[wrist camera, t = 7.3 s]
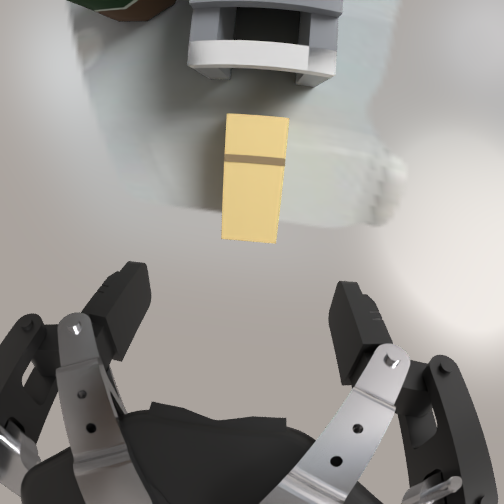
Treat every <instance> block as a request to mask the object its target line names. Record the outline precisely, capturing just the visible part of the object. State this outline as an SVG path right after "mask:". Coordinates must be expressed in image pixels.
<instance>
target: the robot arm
mask: <svg viewBox="0 0 504 504" xmlns="http://www.w3.org/2000/svg"><path fill="white" fill-rule="evenodd" d="M150 302H151V289H150V283H149V276H148V270H147V266H146V264H145V263H140V262H131V261H129V262H127V263H126V265H125V266H124V267H123V268H122V270H121V271H120V272H118V271H117V272H115V273H114V274H112V275H111V276H109V277H108V278H107V279H106V280H105V281H104V283H103V284H102V286H101V287H100V288H99V289H98V290H97V292H96V293H95V294H94V296H93V297H92V298H91V300H90V301H89V302H88V303H87V305H86V306H85V308H84V309H83V310H82V312H81V313H72V314H69V315H67V316H66V317H64V318H63V319H62V320H61V321H60V322H59V324H56V325H44V323H43V321H42V319H41V317H40V316H39V315H37V314H27V315H24V316H23V317H21V318H20V319H19V320H18V321H17V322H16V323H15V325H14V326H13V327H12V329H11V330H10V332H9V333H8V335H7V336H6V337H5V339H4V340H3V341H2V343H1V344H0V483H1V484H3V485H4V486H5V487H7V488H8V489H10V490H11V491H12V492H14V493H15V494H17V495H18V496H20V497H21V501H22V504H383V503H382V502H381V501H379V500H378V499H377V498H376V497H375V496H374V495H372V494H371V493H370V492H369V491H368V490H367V489H366V488H365V487H364V486H363V485H361V484H360V483H359V482H358V479H359V478H360V476H361V474H362V473H363V471H364V470H365V468H366V466H367V465H368V463H369V461H370V460H371V458H372V456H373V454H374V453H375V451H376V449H377V447H378V445H379V443H380V441H381V440H382V438H383V436H384V434H385V432H386V430H387V428H388V426H389V424H390V421H391V419H392V417H393V415H394V413H396V414H398V418H399V423H400V428H401V433H402V439H403V444H404V450H405V456H406V462H407V468H408V476H409V484H410V489H408V490H407V492H406V493H405V495H404V497H403V500H402V503H401V504H497V503H498V494H497V488H496V483H495V478H494V473H493V468H492V464H491V460H490V456H489V452H488V448H487V445H486V441H485V438H484V434H483V431H482V428H481V425H480V422H479V419H478V416H477V413H476V410H475V408H474V405H473V402H472V400H471V397H470V394H469V392H468V389H467V387H466V384H465V382H464V379H463V377H462V375H461V372H460V370H459V368H458V366H457V364H456V363H455V362H454V361H453V360H452V359H451V358H449V357H447V356H444V355H436V356H434V357H433V358H432V359H431V361H430V362H429V363H428V364H426V363H421V362H417V361H412V360H410V357H409V355H408V354H407V352H406V351H405V350H404V349H403V348H401V347H399V346H397V345H394V344H393V342H392V340H391V337H390V335H389V333H388V330H387V328H386V326H385V324H384V321H383V320H382V317H381V314H380V313H379V310H378V308H377V306H376V304H375V302H374V301H373V300H372V299H371V298H370V297H369V296H368V295H366V294H362V292H361V290H360V288H359V285H358V283H357V282H347V281H339V282H338V284H337V287H336V290H335V293H334V297H333V300H332V304H331V307H330V310H329V327H330V331H331V336H332V340H333V344H334V349H335V354H336V359H337V363H338V368H339V373H340V378H341V383H342V385H352V390H351V392H350V394H349V395H348V397H347V398H346V400H345V401H344V403H343V404H342V406H341V407H340V409H339V410H338V411H337V413H336V414H335V416H334V417H333V419H332V420H331V421H330V423H329V424H328V426H327V427H326V429H325V430H324V431H323V432H322V434H321V435H320V436H319V437H318V439H317V440H314V439H313V438H312V437H310V436H309V435H307V434H305V433H303V432H301V431H299V430H296V429H293V428H290V427H286V418H271V417H245V418H237V419H228V420H213V419H210V418H207V417H205V416H202V415H199V414H197V413H194V412H192V411H189V410H187V409H185V408H181V407H176V406H170V405H165V404H160V403H156V402H152V403H151V406H150V409H149V410H142V411H135V412H131V413H127V411H126V409H125V407H124V405H123V402H122V400H121V397H120V394H119V391H118V389H117V386H116V383H115V380H114V377H113V374H112V371H111V368H110V366H109V364H110V362H111V360H112V359H114V360H117V361H122V360H123V358H124V356H125V354H126V352H127V350H128V348H129V346H130V344H131V342H132V340H133V338H134V335H135V333H136V331H137V329H138V327H139V325H140V324H141V321H142V320H143V318H144V316H145V314H146V312H147V310H148V308H149V306H150ZM30 361H32V363H33V364H34V366H35V367H34V369H33V370H32V372H31V374H30V376H29V378H28V380H27V382H26V384H25V385H24V387H23V385H22V376H23V374H24V372H25V370H26V369H27V367H28V365H29V363H30ZM57 392H59V398H60V404H61V409H62V414H63V419H64V423H65V427H66V431H67V435H68V439H69V443H70V447H68V448H66V449H65V450H63V451H61V452H59V453H58V454H56V455H54V456H52V457H50V458H48V459H46V460H44V461H43V462H41V459H40V457H39V456H38V450H37V446H36V443H37V441H38V438H39V435H40V433H41V430H42V427H43V425H44V423H45V420H46V418H47V415H48V413H49V410H50V408H51V406H52V404H53V401H54V399H55V397H56V394H57ZM432 408H433V410H434V413H435V416H436V420H437V427H436V423H435V419H434V416H433V412H432Z"/></svg>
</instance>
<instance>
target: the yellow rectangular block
mask: <svg viewBox="0 0 504 504" xmlns="http://www.w3.org/2000/svg"><path fill="white" fill-rule="evenodd" d="M288 126H289V118H283V117H273V116H261V115H247V114H227V121H226V138H225V154H224V178H223V203H222V237H221V238H222V239H229V240H241V241H253V242H264V243H276V238H277V229H278V221H279V212H280V203H281V194H282V185H283V176H284V167H285V157H286V147H287V137H288Z"/></svg>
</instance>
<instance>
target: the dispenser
mask: <svg viewBox="0 0 504 504" xmlns="http://www.w3.org/2000/svg"><path fill="white" fill-rule="evenodd" d="M189 4H190V5H191V6H192V8H193V14H192V22H191V30H190V39H189V49H188V59H187V66H189V67H191V68H193V69H194V70H196V71H198V72H199V73H201V74H203V75H204V76H206V77H208V78H209V79H230V74H231V68H250V69H266V70H277V71H287V72H295V73H296V80H295V84H296V85H304V86H311V87H316V86H318V85H319V84H321V83H323V82H324V81H326V80H328V79H330V78H331V77H333V76H335V70H336V56H337V37H338V18H339V16H340V15H341V14H342V7H343V0H189ZM237 7H260V8H275V9H285V10H294V11H300V25H299V40H298V45H296V44H288V43H279V42H267V41H249V40H233V39H234V29H235V19H236V9H237Z"/></svg>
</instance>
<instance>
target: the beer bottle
mask: <svg viewBox="0 0 504 504" xmlns="http://www.w3.org/2000/svg"><path fill="white" fill-rule="evenodd" d="M67 1H70V2H73V3H76V4H78V5H81V6H83V7H86V8H88V9H91V10H93V11H95V12H98V13H100V14H102V15H104V16H107V17H109V18H111V19H114V20H117V21H148V20H150V19H151V18H153V17H154V16H156V15H157V14H159V13H160V12H162V11H163V10H165V9H167V8H168V7H170V6H172V5H173V4H175V2H176V0H67Z"/></svg>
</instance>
